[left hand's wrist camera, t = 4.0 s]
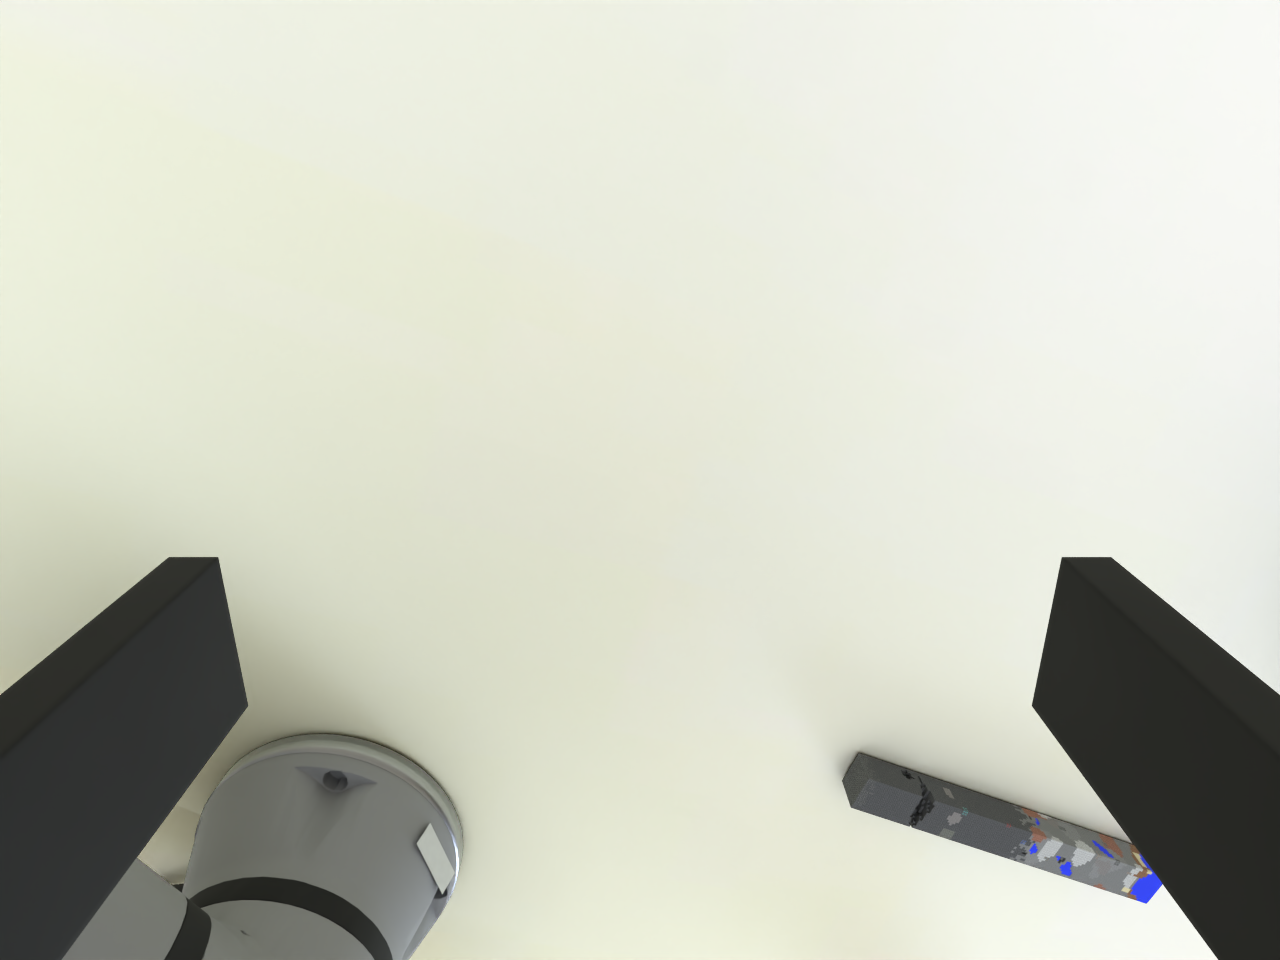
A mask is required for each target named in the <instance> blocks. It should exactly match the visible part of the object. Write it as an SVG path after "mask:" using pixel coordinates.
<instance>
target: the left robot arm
mask: <svg viewBox="0 0 1280 960" xmlns="http://www.w3.org/2000/svg"><path fill="white" fill-rule="evenodd" d="M247 707H248V703H247V698H246V693H245V688H244V683H243V678H242V673H241V668H240V663H239V658H238V653H237V648H236V643H235V638H234V633H233V628H232V624H231V619H230V614H229V609H228V604H227V599H226V594H225V589H224V584H223V579H222V574H221V569H220V564H219V559H218V557H169V558H167V559H166V560H165V561H164V562H163V563H161V564H160V565H159V566H158V567H156V568H155V569H154V570H153V571H151V572H150V573H149V574H148V575H147V576H145V577H144V578H143V579H142V580H140V581H139V582H138V583H137V584H136V585H134V586H133V587H132V588H131V589H129V590H128V591H127V592H126V593H125V594H123V595H122V596H121V597H120V598H118V599H117V600H116V601H115V602H114V603H112V604H111V605H110V606H109V607H107V608H106V609H105V610H104V611H103V612H101V613H100V614H99V615H98V616H96V617H95V618H94V619H93V620H92V621H90V622H89V623H88V624H87V625H85V626H84V627H83V628H82V629H81V630H79V631H78V632H77V633H76V634H74V635H73V636H72V637H71V638H70V639H68V640H67V641H66V642H65V643H63V644H62V645H61V646H60V647H59V648H57V649H56V650H55V651H54V652H52V653H51V654H50V655H49V656H48V657H46V658H45V659H44V660H43V661H41V662H40V663H39V664H38V665H37V666H35V667H34V668H33V669H32V670H30V671H29V672H28V673H27V674H25V675H24V676H23V677H22V678H21V679H19V680H18V681H17V682H16V683H14V684H13V685H12V686H11V687H10V688H8V689H7V690H6V691H5V692H3V693H2V694H1V695H0V960H409V959H410V957H411V956H412V954H413V953H414V952H415V950H416V949H417V947H418V946H419V945H420V943H421V942H422V940H423V939H424V937H425V936H426V935H427V933H428V932H429V930H430V929H431V928H432V926H433V925H434V923H435V922H436V920H437V919H438V918H439V916H440V915H441V913H442V911H443V910H444V908H445V906H446V904H447V902H448V901H449V899H450V897H451V895H452V892H453V890H454V887H455V883H456V880H457V876H458V872H459V868H460V864H461V861H462V854H463V836H462V829H461V825H460V821H459V819H458V816H457V813H456V811H455V809H454V807H453V805H452V803H451V801H450V800H449V798H448V797H447V795H446V794H445V792H444V791H443V790H442V788H441V787H440V786H439V785H438V784H437V783H436V781H435V780H434V779H433V778H432V777H431V776H430V775H428V774H427V773H426V772H425V771H424V770H423V769H422V768H420V767H419V766H417V765H416V764H415V763H413V762H412V761H410V760H409V759H407V758H405V757H404V756H402V755H400V754H398V753H396V752H395V751H393V750H391V749H388V748H386V747H383V746H381V745H379V744H376V743H373V742H369V741H366V740H363V739H358V738H354V737H349V736H342V735H332V734H308V735H298V736H293V737H287V738H284V739H280V740H276V741H273V742H271V743H268V744H265V745H263V746H261V747H259V748H257V749H255V750H253V751H252V752H250V753H249V754H247V755H245V756H244V757H243V758H241V759H240V760H239V761H238V762H236V763H235V764H234V765H233V766H232V767H231V768H230V769H229V771H228V772H227V773H226V775H225V776H224V777H223V778H222V780H221V781H220V783H219V784H218V786H217V787H216V789H215V790H214V792H213V793H212V794H211V796H210V798H209V799H208V801H207V803H206V804H205V807H204V809H203V811H202V814H201V817H200V820H199V822H198V825H197V829H196V833H195V842H194V846H193V849H192V853H191V857H190V861H189V865H188V869H187V873H186V877H185V882H184V884H176V885H171V884H170V883H168V882H167V881H166V880H165V879H163V878H162V877H161V876H159V875H158V874H157V873H156V872H154V871H153V870H152V869H151V868H149V867H148V866H147V865H145V864H144V863H143V862H142V861H140V860H139V859H138V858H137V856H138V855H139V854H140V852H141V851H142V850H143V848H144V847H145V846H146V844H147V843H148V841H149V840H150V839H151V837H152V836H153V835H154V833H155V832H156V831H157V829H158V828H159V827H160V825H161V824H162V822H163V821H164V820H165V818H166V817H167V816H168V814H169V813H170V812H171V810H172V809H173V807H174V806H175V805H176V803H177V802H178V801H179V799H180V798H181V797H182V795H183V794H184V792H185V791H186V790H187V788H188V787H189V786H190V784H191V783H192V782H193V780H194V779H195V777H196V776H197V775H198V773H199V772H200V771H201V769H202V768H203V767H204V765H205V764H206V763H207V761H208V760H209V758H210V757H211V756H212V754H213V753H214V752H215V750H216V749H217V748H218V746H219V745H220V743H221V742H222V741H223V739H224V738H225V737H226V735H227V734H228V733H229V731H230V730H231V728H232V727H233V726H234V724H235V723H236V722H237V720H238V719H239V718H240V716H241V715H242V713H243V712H244V711H245V709H246V708H247ZM1032 707H1033V708H1034V709H1035V711H1036V712H1037V713H1038V715H1039V716H1040V718H1041V719H1042V720H1043V722H1044V723H1045V724H1046V726H1047V727H1048V728H1049V730H1050V731H1051V733H1052V734H1053V735H1054V737H1055V738H1056V739H1057V741H1058V742H1059V743H1060V745H1061V746H1062V748H1063V749H1064V750H1065V752H1066V753H1067V754H1068V756H1069V757H1070V758H1071V760H1072V761H1073V763H1074V764H1075V765H1076V767H1077V768H1078V769H1079V771H1080V772H1081V773H1082V775H1083V776H1084V777H1085V779H1086V780H1087V782H1088V783H1089V784H1090V786H1091V787H1092V788H1093V790H1094V791H1095V792H1096V794H1097V795H1098V797H1099V798H1100V799H1101V801H1102V802H1103V803H1104V805H1105V806H1106V807H1107V809H1108V810H1109V812H1110V813H1111V814H1112V816H1113V817H1114V818H1115V820H1116V821H1117V822H1118V824H1119V825H1120V827H1121V828H1122V829H1123V831H1124V832H1125V833H1126V835H1127V836H1128V837H1129V839H1130V840H1131V841H1132V843H1133V844H1134V846H1135V847H1136V848H1137V850H1138V851H1139V852H1140V854H1141V855H1142V856H1143V858H1144V859H1145V861H1146V862H1147V863H1148V865H1149V866H1150V867H1151V869H1152V870H1153V871H1154V873H1155V874H1156V876H1157V877H1158V878H1159V880H1160V881H1161V882H1162V884H1163V885H1164V886H1165V888H1166V889H1167V891H1168V892H1169V893H1170V895H1171V896H1172V897H1173V899H1174V900H1175V901H1176V903H1177V904H1178V905H1179V907H1180V908H1181V910H1182V911H1183V912H1184V914H1185V915H1186V916H1187V918H1188V919H1189V920H1190V922H1191V923H1192V925H1193V926H1194V927H1195V929H1196V930H1197V931H1198V933H1199V934H1200V935H1201V937H1202V938H1203V940H1204V941H1205V942H1206V944H1207V945H1208V946H1209V948H1210V949H1211V950H1212V952H1213V953H1214V955H1215V956H1216V957H1217V959H1218V960H1280V695H1279V694H1278V693H1277V692H1275V691H1274V690H1273V689H1272V688H1270V687H1269V686H1268V685H1267V684H1266V683H1264V682H1263V681H1262V680H1261V679H1259V678H1258V677H1257V676H1256V675H1255V674H1253V673H1252V672H1251V671H1250V670H1248V669H1247V668H1246V667H1245V666H1243V665H1242V664H1241V663H1240V662H1239V661H1237V660H1236V659H1235V658H1234V657H1232V656H1231V655H1230V654H1229V653H1228V652H1226V651H1225V650H1224V649H1223V648H1221V647H1220V646H1219V645H1218V644H1217V643H1215V642H1214V641H1213V640H1212V639H1210V638H1209V637H1208V636H1207V635H1206V634H1204V633H1203V632H1202V631H1201V630H1199V629H1198V628H1197V627H1196V626H1195V625H1193V624H1192V623H1191V622H1190V621H1188V620H1187V619H1186V618H1185V617H1184V616H1182V615H1181V614H1180V613H1179V612H1177V611H1176V610H1175V609H1174V608H1173V607H1171V606H1170V605H1169V604H1168V603H1166V602H1165V601H1164V600H1163V599H1162V598H1160V597H1159V596H1158V595H1157V594H1155V593H1154V592H1153V591H1152V590H1151V589H1149V588H1148V587H1147V586H1146V585H1144V584H1143V583H1142V582H1141V581H1140V580H1138V579H1137V578H1136V577H1135V576H1133V575H1132V574H1131V573H1130V572H1129V571H1127V570H1126V569H1125V568H1124V567H1122V566H1121V565H1120V564H1119V563H1117V562H1116V561H1115V560H1114V559H1113V558H1111V557H1062V559H1061V564H1060V569H1059V574H1058V579H1057V584H1056V589H1055V594H1054V599H1053V604H1052V609H1051V614H1050V619H1049V624H1048V628H1047V633H1046V638H1045V643H1044V648H1043V653H1042V658H1041V663H1040V668H1039V673H1038V678H1037V683H1036V688H1035V693H1034V698H1033V703H1032Z"/></svg>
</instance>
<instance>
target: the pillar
mask: <svg viewBox="0 0 1280 960" xmlns="http://www.w3.org/2000/svg"><path fill="white" fill-rule="evenodd" d="M842 782H843V785H844V788H845V791H846V794H847V797H848V800H849V803H850V806H851V808H854V809H857V810H860V811H863V812H866V813H869V814H872V815H876V816H879V817H882V818H885V819H888V820H891V821H894V822H897V823H900V824H903V825H906V826H909V827H910V825H911V826H912V828H915V829H919V830H922V831H925V832H928V833H931V834H934V835H937V836H940V837H943V838H946V839H949V840H952V841H955V842H959V843H962V844H965V845H968V846H971V847H974V848H977V849H980V850H983V851H986V852H989V853H992V854H995V855H999V856H1002V857H1005V858H1008V859H1011V860H1014V861H1017V862H1020V863H1023V864H1026V865H1029V866H1032V867H1035V868H1039V869H1042V870H1045V871H1048V872H1051V873H1054V874H1057V875H1060V876H1063V877H1066V878H1069V879H1072V880H1075V881H1078V882H1082V883H1085V884H1088V885H1091V886H1094V887H1097V888H1100V889H1103V890H1106V891H1109V892H1112V893H1115V894H1118V895H1122V896H1125V897H1128V898H1131V899H1134V900H1137V901H1140V902H1143V903H1147V902H1148V901H1149V900H1150V899H1151V898H1152V896H1153V895H1154V894H1155V893H1156V892H1157V890H1158V889H1159V888H1160V887H1161V885H1162V882H1161V881H1160V880H1159V878H1158V877H1157V876H1156V874H1155V873H1154V871H1153V870H1152V869H1151V867H1150V866H1149V865H1148V863H1147V862H1146V861H1145V859H1144V858H1143V856H1142V855H1141V854H1140V852H1139V851H1138V850H1137V848H1136V847H1135V846H1134V845H1132V844H1129V843H1126V842H1123V841H1120V840H1117V839H1114V838H1111V837H1108V836H1105V835H1103V834H1100V833H1097V832H1094V831H1091V830H1088V829H1085V828H1082V827H1079V826H1076V825H1073V824H1070V823H1067V822H1064V821H1061V820H1058V819H1055V818H1052V817H1049V816H1046V815H1043V814H1040V813H1037V812H1034V811H1031V810H1028V809H1025V808H1022V807H1019V806H1016V805H1013V804H1010V803H1007V802H1004V801H1001V800H998V799H995V798H992V797H989V796H986V795H983V794H980V793H977V792H974V791H971V790H968V789H965V788H962V787H959V786H956V785H953V784H950V783H947V782H944V781H941V780H938V779H935V778H933V777H930V776H927V775H924V774H921V773H918V772H915V771H912V770H909V769H906V768H903V767H900V766H897V765H894V764H891V763H888V762H885V761H882V760H879V759H876V758H873V757H870V756H867V755H864V754H861V753H859V754H858V755H857V757H856V759H855V760H854V762H853V764H852V765H851V767H850V769H849V770H848V772H847V774H846V775H845V777H844V779H843V780H842Z"/></svg>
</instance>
